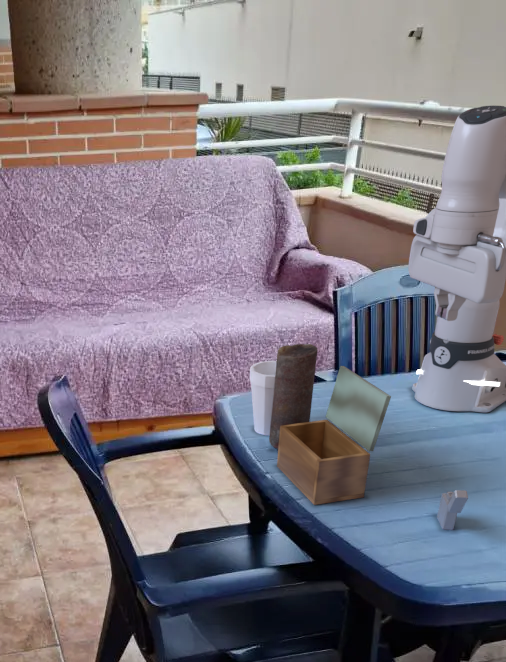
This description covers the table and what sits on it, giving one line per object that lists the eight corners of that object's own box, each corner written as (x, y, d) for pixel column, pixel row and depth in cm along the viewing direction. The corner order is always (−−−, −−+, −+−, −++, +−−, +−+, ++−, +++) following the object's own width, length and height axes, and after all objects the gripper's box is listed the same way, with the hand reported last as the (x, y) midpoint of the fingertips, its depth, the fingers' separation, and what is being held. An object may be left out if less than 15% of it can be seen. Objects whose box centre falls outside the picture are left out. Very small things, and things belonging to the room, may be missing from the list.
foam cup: (295, 422, 156) (301, 362, 149) (290, 440, 148) (296, 378, 142) (250, 418, 159) (253, 359, 152) (242, 436, 151) (246, 374, 144)
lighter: (436, 516, 121) (446, 472, 117) (447, 516, 121) (458, 472, 116) (446, 539, 115) (456, 493, 111) (458, 539, 115) (469, 494, 111)
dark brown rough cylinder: (307, 456, 142) (318, 354, 131) (268, 454, 143) (276, 353, 133) (306, 440, 148) (316, 341, 138) (268, 438, 150) (276, 340, 139)
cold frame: (314, 505, 126) (319, 461, 122) (276, 466, 139) (280, 425, 135) (363, 497, 127) (370, 454, 123) (322, 459, 141) (327, 419, 136)
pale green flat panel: (386, 396, 118) (391, 396, 118) (340, 365, 131) (344, 366, 131) (369, 451, 123) (373, 451, 123) (325, 416, 136) (329, 417, 136)
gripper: (527, 237, 107) (504, 333, 114) (442, 217, 124) (427, 301, 131) (488, 241, 106) (467, 337, 113) (408, 220, 123) (394, 305, 130)
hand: (445, 318), depth 122 cm, fingers closed
